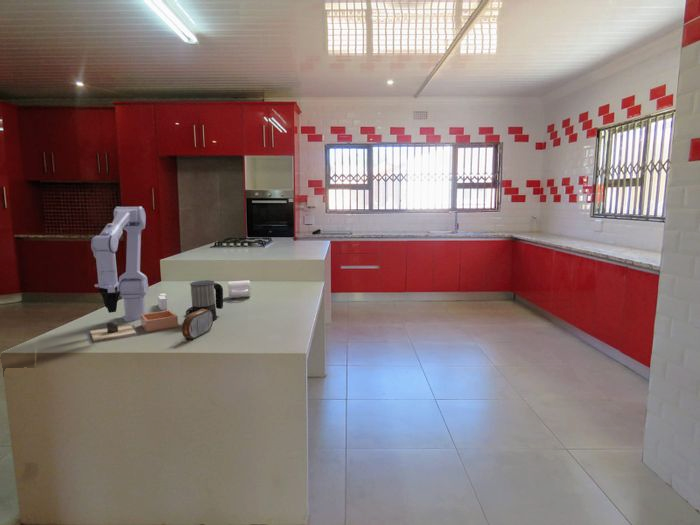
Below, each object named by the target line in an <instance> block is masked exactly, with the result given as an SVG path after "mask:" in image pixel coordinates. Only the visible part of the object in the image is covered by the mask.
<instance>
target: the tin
mask: <svg viewBox="0 0 700 525" xmlns="http://www.w3.org/2000/svg"><path fill="white" fill-rule="evenodd" d="M182 321H183V322H182V326H181V333H182V336H183V338H185V339H191V340H194V339H197V338H199V337H201V336H203V335H205V334H206V333H208V332H209V331H210V330H211V329H212V327H213V323H214V322H213V321H214V320H213V313H212V312H211V311H210V310H206V309H201V310H198V311H196V312H193V313H191V314H189V315H186V316H185V318H184V320H182Z"/></svg>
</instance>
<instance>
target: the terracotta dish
mask: <svg viewBox="0 0 700 525" xmlns="http://www.w3.org/2000/svg"><path fill="white" fill-rule="evenodd" d="M140 317H141V319H140V326H141V328H143V330H144V331H145V332H146V333H151V332H155V331H157V332H158V331H163V330H169V329H173V328H178V327H179V319H178V318H179V317H178V315H177V314H176V313H174V312H173V310H170V309H169V310H168V309H167V310H161V311H155V312H149V313H146V314H142V315H140Z"/></svg>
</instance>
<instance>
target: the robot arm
mask: <svg viewBox="0 0 700 525" xmlns="http://www.w3.org/2000/svg"><path fill="white" fill-rule="evenodd" d="M146 216H147V215H146V211H145V208H143V206H142V205H140V206H116V207H115V208H114V210H113V220H112V221H111V223H109V222H108V223H107V224H106V225H105V227H104V228H103V229H102V230H101V232H100V234H98V235H95V236H93V237H92V238H91V243H90V248H91V251H92V253H93V257H94V258H95V260H96V272H97V283H95V284H94V287H95V288H97V290H98V291H99V293H100V295H101V297H102V300H103V304H104V306H105V308H106V309H107V312H108V313H109V314H110V313H116V312H117V307H118V301H119V297H121V299H123V307H124V315H122V317H121V318H123V319H124V321H125V322H127V323H128V322H132V321H138V320H140V321H141V317H140V315H142V314H147V313H146V301H145V296H146V295H147V294H148V293H149V282H148V277H147V275H146V274H144V273H143V272H141V247H142V246H141V245H142V239H141V238H142V231H143V230H145V229H146V222H147V221H146V220H147V218H146ZM123 230H124V231H126V257H125V258H126V262H125V263H126V264H125V272H124V273H122V274H121V275H120V276H119V277H118V270H117V269H118V268H117V261H116V260H117V259H116V252H117V251H118V247H119V240H120V239H121V237H122V235H123V234H124V233H123V232H124V231H123Z"/></svg>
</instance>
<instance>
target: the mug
mask: <svg viewBox="0 0 700 525" xmlns="http://www.w3.org/2000/svg"><path fill="white" fill-rule="evenodd" d="M227 291H228V299H238V298H239V299H240V298H250V297H251V296H252V294H251V293H252V292H251V280H249V279H247V280H234V281H227Z"/></svg>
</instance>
